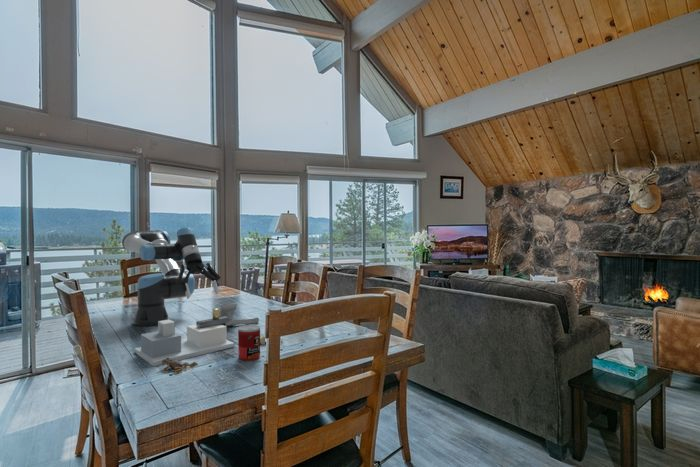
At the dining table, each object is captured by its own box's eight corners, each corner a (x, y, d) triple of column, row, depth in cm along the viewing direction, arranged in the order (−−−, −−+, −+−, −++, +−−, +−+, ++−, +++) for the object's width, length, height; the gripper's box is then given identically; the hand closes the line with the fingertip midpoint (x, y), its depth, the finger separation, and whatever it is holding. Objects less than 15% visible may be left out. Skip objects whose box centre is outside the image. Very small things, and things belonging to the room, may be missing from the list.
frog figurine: (151, 376, 126) (150, 365, 126) (170, 363, 138) (170, 352, 138) (185, 377, 126) (185, 365, 126) (201, 364, 138) (201, 353, 138)
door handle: (219, 334, 194) (223, 322, 178) (217, 318, 197) (221, 305, 181) (255, 329, 201) (262, 317, 185) (253, 314, 205) (259, 301, 188)
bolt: (196, 326, 156) (196, 311, 156) (225, 320, 165) (225, 306, 165) (199, 327, 154) (199, 312, 154) (229, 322, 163) (229, 307, 163)
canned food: (249, 362, 138) (249, 331, 138) (233, 358, 142) (233, 328, 142) (264, 356, 144) (264, 326, 144) (249, 352, 149) (249, 323, 148)
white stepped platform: (134, 352, 148) (134, 320, 148) (210, 336, 169) (210, 308, 169) (153, 366, 134) (153, 331, 134) (233, 346, 155) (233, 316, 155)
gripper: (167, 253, 179) (178, 294, 170) (219, 250, 196) (231, 288, 188) (162, 262, 183) (173, 302, 175) (213, 258, 201) (225, 295, 192)
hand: (203, 295), depth 181 cm, fingers open, 13 cm apart
